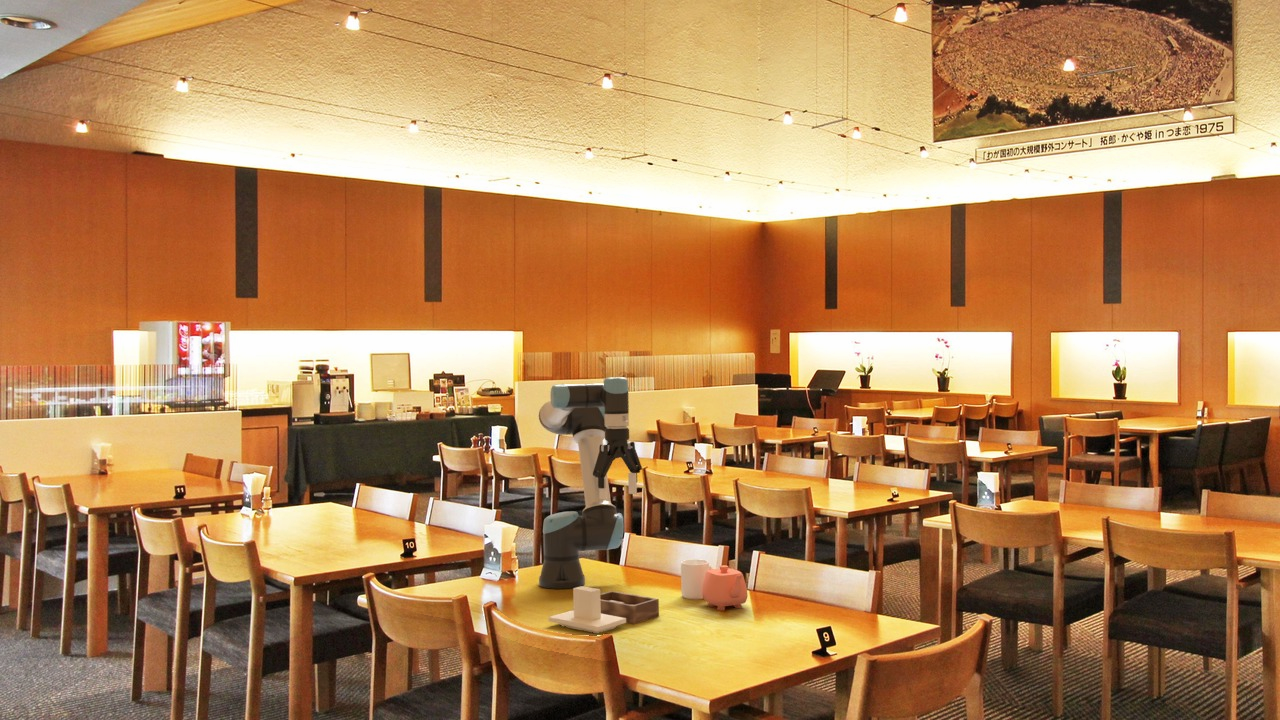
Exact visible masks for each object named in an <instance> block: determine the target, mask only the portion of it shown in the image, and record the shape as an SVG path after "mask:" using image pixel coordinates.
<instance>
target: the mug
mask: <svg viewBox="0 0 1280 720" xmlns="http://www.w3.org/2000/svg"><path fill="white" fill-rule="evenodd" d="M709 569H714V568H713V567H712V565H710V562H709V560H706V559H699V558H698V559H697V558H695V559H685V560H681V562H680V575H681V576H680V577H681V578H680V579H681V581H680V582H681V583H680V585H681V588H680V589H681V596H682V598H684V599H686V600H687V599H688V600H702V599H704V598H703V596H702V586H703V581H704V577H705V574H706V571H707V570H709Z"/></svg>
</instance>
